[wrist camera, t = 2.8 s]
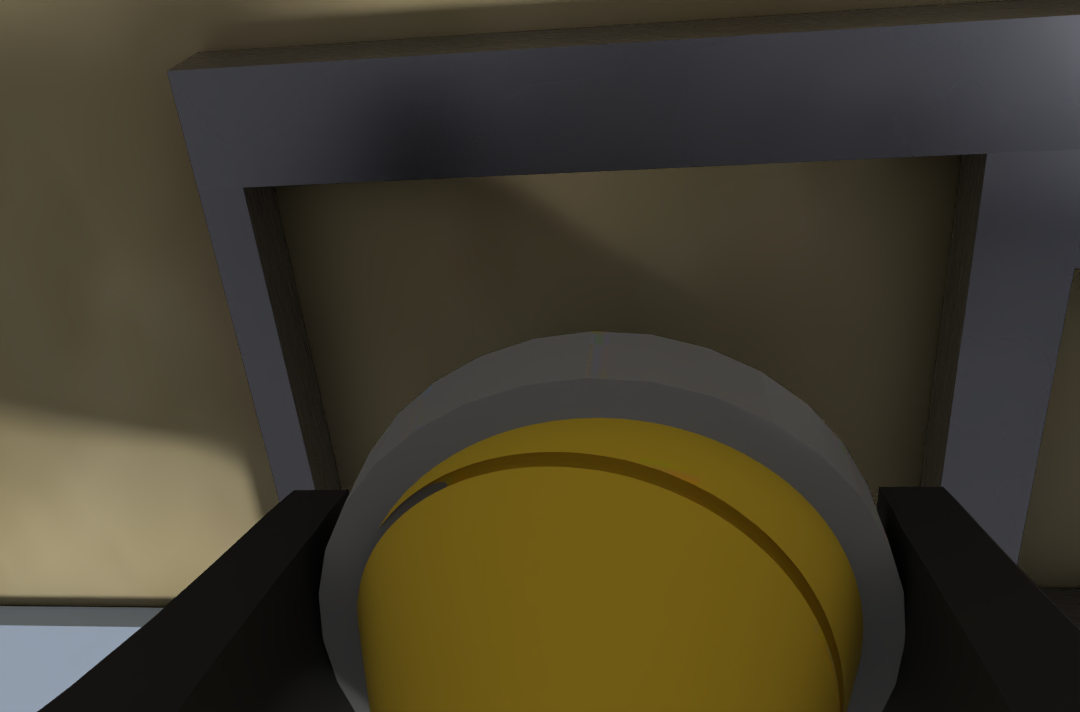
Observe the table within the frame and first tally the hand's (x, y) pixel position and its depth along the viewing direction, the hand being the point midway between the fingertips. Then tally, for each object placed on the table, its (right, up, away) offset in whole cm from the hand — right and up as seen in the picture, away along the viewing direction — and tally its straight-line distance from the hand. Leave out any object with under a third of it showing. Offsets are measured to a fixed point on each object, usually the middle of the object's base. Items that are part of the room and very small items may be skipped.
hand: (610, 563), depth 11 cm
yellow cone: (0, +1, +2) cm, 3 cm away
